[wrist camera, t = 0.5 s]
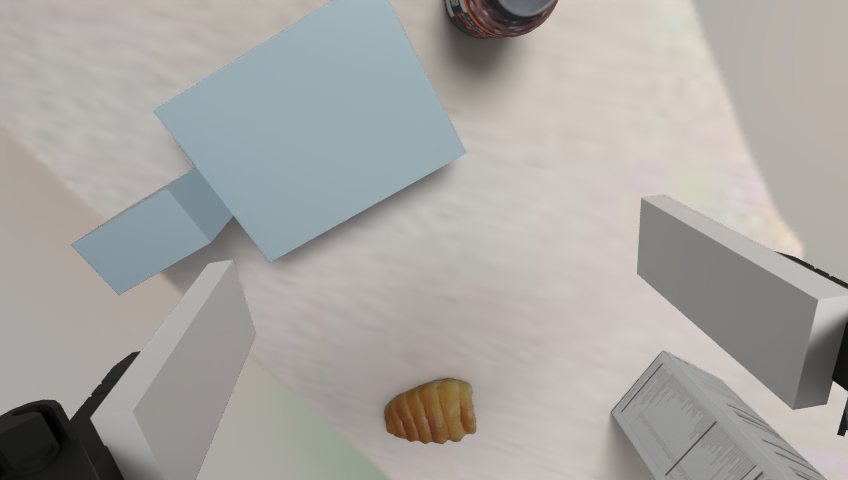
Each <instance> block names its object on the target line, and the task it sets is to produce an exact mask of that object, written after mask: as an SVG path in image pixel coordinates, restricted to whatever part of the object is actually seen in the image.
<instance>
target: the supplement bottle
mask: <svg viewBox="0 0 848 480" xmlns="http://www.w3.org/2000/svg"><path fill="white" fill-rule="evenodd" d="M557 2H558V0H445V4H446V8H447V11H448V14H449V16H450V18H451V19H452V21H453V22H454V24H455V25H456V26H457V27H458V28H459V29H460V30H462V31H463V32H465V33H466V34H468V35H470V36H473V37H477V38H497V37H500V38H501V37H516V36H520V35H524V34H527V33H529V32H531V31H532V30H534V29H535V28H537V27H539V26H540V25H541V24H542V23H543V22H544V21H545V20H546V19H547V18H548V17H549V15H550V14H551V13H552V11H553V10H554V8H555V6H556V4H557Z"/></svg>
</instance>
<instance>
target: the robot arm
mask: <svg viewBox="0 0 848 480" xmlns="http://www.w3.org/2000/svg"><path fill="white" fill-rule="evenodd" d="M637 274H638V275H639V276H640V277H641V278H643V279H644V280H645V281H646V282H647V283H648V284H649V285H651V286H652V287H653V288H654V289H655V290H656V291H657V292H659V293H660V294H661V295H662V296H663V297H664V298H665V299H667V300H668V301H669V302H670V303H671V304H672V305H673V306H675V307H676V308H677V309H678V310H679V311H680V312H681V313H683V314H684V315H685V316H686V317H687V318H688V319H689V320H691V321H692V322H693V323H694V324H695V325H696V326H697V327H699V328H700V329H701V330H702V331H703V332H704V333H705V334H707V335H708V336H709V337H710V338H711V339H712V340H713V341H715V342H716V343H717V344H718V345H719V346H720V347H722V348H723V349H724V350H725V351H726V352H727V353H728V354H730V355H731V356H732V357H733V358H734V359H735V360H736V361H738V362H739V363H740V364H741V365H742V366H743V367H744V368H746V369H747V370H748V371H749V372H750V373H751V374H752V375H754V376H755V377H756V378H757V379H758V380H759V381H760V382H762V383H763V384H764V385H765V386H766V387H767V388H768V389H770V390H771V391H772V392H773V393H774V394H775V395H776V396H778V397H779V398H780V399H781V400H782V401H783V402H784V403H786V404H787V405H788V406H789V407H790V408H791V409H792V410H795V409H801V408H807V407H813V406H819V405H824V404H827V401H828V397H829V393H830V390H831V386H832V382H833V381H834V382H836V383H837V384H839V385H840V386H841V387H843V388H844V389H845V390H847V391H848V284H847V283H845V282H843V281H841V280H839V279H837V278H835V277H833V276H831V277H830V276H829V274H828V273H826V272H824V271H822V270H820V269H814V267H813V266H812V265H810V264H808V263H806V262H804V261H802V260H800V259H798V258H796V257H793V256H789V255H786V254H783V253H779V252H776V251H773V250H771V249H769V248H767V247H765V246H763V245H761V244H759V243H757V242H755V241H753V240H751V239H749V238H748V237H746V236H744V235H742V234H740V233H738V232H736V231H734V230H732V229H730V228H728V227H726V226H724V225H722V224H720V223H719V222H717V221H715V220H713V219H711V218H709V217H707V216H705V215H703V214H701V213H699V212H697V211H695V210H693V209H691V208H690V207H688V206H686V205H684V204H682V203H680V202H678V201H676V200H674V199H672V198H670V197H668V196H666V195H657V196H651V197H644V198H641V212H640V229H639V246H638V263H637ZM255 335H256V331H255V328H254V325H253V322H252V318H251V315H250V312H249V309H248V306H247V302H246V299H245V296H244V293H243V290H242V286H241V283H240V280H239V277H238V274H237V270H236V267H235V264H234V261H233V260H227V261H220V262H214V263H208V265H207V266H206V267H205V268H204V270H203V271H202V272H201V274H200V275H199V276H198V278H197V279H196V280H195V282H194V283H193V284H192V285H191V287H190V288H189V289H188V291H187V292H186V293H185V295H184V296H183V297H182V299H181V300H180V301H179V303H178V304H177V305H176V306H175V308H174V309H173V311H172V312H171V313H170V314H169V316H168V317H167V318H166V320H165V321H164V322H163V323H162V325H161V326H160V327H159V329H158V330H157V331H156V333H155V334H154V335H153V337H152V338H151V339H150V340H149V342H148V343H147V344H146V346H145V347H144V348H143V350H142V351H139V352H133V353H131V354H130V355H128V356H127V357H126V358H124V359H123V360H122V361H120V362H119V363H118V364H117V365H115V366H114V367H113V368H112V369H111V370H110V372H109V373H108V374H107V376H106V377H105V378H104V379H103V381H102V384H100V385H98V387H97V388H96V389H95V390H94V391H93V393H92V394H91V395H92V396H91V397H89V398H88V399H87V400H86V401H85V402H84V404H83V405H82V406H81V407H80V409H79V410H78V411H77V412H76V414H75V415H74V416H73V417H72V418H71V420H70V421H69V419H68V417H67V415H66V414H65V412H64V410H63V408H62V406H61V405H60V404H59V403H58V402H57V401H55V400H40V401H35V402H31V403H27V404H25V405H23V406H20V407H17V408H15V409H12V410H10V411H8V412H7V413H5V414H3V415H1V416H0V480H196V478H197V476H198V473H199V471H200V468H201V466H202V464H203V461H204V459H205V456H206V454H207V451H208V449H209V446H210V444H211V442H212V439H213V437H214V434H215V432H216V430H217V427H218V425H219V422H220V420H221V418H222V415H223V413H224V410H225V408H226V405H227V403H228V401H229V398H230V396H231V393H232V391H233V388H234V386H235V384H236V381H237V379H238V376H239V374H240V371H241V369H242V367H243V364H244V362H245V359H246V357H247V355H248V352H249V350H250V347H251V345H252V342H253V340H254V338H255ZM846 430H848V399H847V402H846V406H845V409H844V413H843V416H842V419H841V423H840V426H839V430H838V433H837V435H840V436H844V435H845V433H846Z"/></svg>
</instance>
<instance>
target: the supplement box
mask: <svg viewBox="0 0 848 480" xmlns="http://www.w3.org/2000/svg"><path fill="white" fill-rule="evenodd" d="M612 415H613V416H614V418H615V419H616V421H617V422H618V424H619V425H620V427H621V428H622V430H623V431H624V433H625V434H626V436H627V437H628V439H629V440H630V442H631V443H632V445H633V446H634V448H635V449H636V451H637V452H638V454H639V455H640V457H641V459H642V460H643V462H644V463H645V465H646V466H647V468H648V469H649V471H650V472H651V474H652V475H653V477H654V478H655V480H827V479H826V478H825V477H824V476H823V475H821V474H820V473H819V472H818V471H817V470H816V469H815V468H814V467H813V466H812V465H811V464H810V463H809V462H808V461H807V460H805V459H804V458H803V457H802V456H801V455H800V454H799V453H798V452H797V451H796V450H795V449H794V448H793V447H792V446H791V445H790V444H788V443H787V442H786V441H785V440H784V439H783V438H782V437H781V436H780V435H779V434H778V433H777V432H776V431H775V430H774V429H773V428H772V427H771V426H769V425H768V424H767V423H766V422H765V421H764V420H763V419H762V418H761V417H760V416H759V415H758V414H757V413H756V412H755V411H754V410H753V409H751V408H750V407H749V406H748V405H747V404H746V403H745V402H744V401H743V400H742V399H741V398H740V397H739V396H738V395H737V394H736V393H735V392H733V391H732V390H731V389H730V388H729V387H728V386H727V385H726V384H725V383H724V382H723V381H722V380H721V379H719V378H717V377H715V376H713V375H711V374H709V373H707V372H705V371H703V370H701V369H700V368H698V367H696V366H694V365H692V364H690V363H688V362H686V361H684V360H682V359H680V358H678V357H676V356H674V355H672V354H670V353H668V352H666V351H662V352H661V354H660V355H659V356H658V357H657V359H656V360H655V361H654V362H653V363H652V365H651V366H650V367H649V368H648V369H647V370H646V372H645V373H644V374H643V375H642V376H641V378H640V379H639V380H638V381H637V382H636V384H635V385H634V386H633V387H632V388H631V389H630V391H629V392H628V393H627V394H626V395H625V397H624V398H623V399H622V400H621V401H620V403H619V404H618V405H617V406H616V407H615V409H614V410H613V411H612Z"/></svg>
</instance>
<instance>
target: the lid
mask: <svg viewBox="0 0 848 480" xmlns="http://www.w3.org/2000/svg"><path fill="white" fill-rule="evenodd" d="M153 112H154V113H155V114H156V115H157V117H158V118H159V119H160V121H161V122H162V123H163V125H164V126H165V127H166V128H167V130H168V131H169V132H170V134H171V135H172V136H173V138H174V139H175V140H176V141H177V143H178V144H179V145H180V147H181V148H182V149H183V151H184V152H185V153H186V154H187V156H188V157H189V158H190V160H191V161H192V162H193V164H194V165H195V166H196V168H195V169H193V170H191V171H190V172H188V173H186V174H184V175H183V176H181V177H179V178H178V179H176V180H174V181H173V182H171V183H169V184H168V185H166V186H164V187H163V188H161V189H159V190H157V191H156V192H154V193H152V194H151V195H149V196H147V197H146V198H144V199H142V200H141V201H139V202H137V203H136V204H134V205H132V206H131V207H129V208H127V209H125V210H124V211H122V212H120V213H119V214H117V215H116V216H114V217H113V218H111V219H110V220H108V221H107V222H105V223H104V224H102V225H101V226H99V227H98V228H96V229H94V230H93V231H91V232H90V233H88V234H87V235H85V236H84V237H82V238H81V239H79V240H78V241H76V242H75V243H73V244H72V245H71V246H72V247H73V248H74V249H75V250H76V251H77V252H78V253H79V254H80V255H81V256H82V257H83V258H84V259H85V260H86V261H87V262H88V263H89V264H90V265H91V267H92V268H93V269H94V270H95V271H96V272H97V273H98V274H99V275H100V276H101V277H102V278H103V279H104V280H105V281H106V282H107V283H108V284H109V285H110V286H111V288H112V289H114V290H115V292H116V293H117V294H118V295H120V294H122V293H124V292H125V291H127V290H129V289H131V288H132V287H134V286H136V285H138V284H139V283H141V282H143V281H145V280H147V279H148V278H150V277H152V276H154V275H155V274H157V273H159V272H161V271H162V270H164V269H166V268H168V267H169V266H171V265H173V264H175V263H176V262H178V261H180V260H182V259H183V258H185V257H187V256H189V255H190V254H192V253H194V252H196V251H197V250H199V249H201V248H203V247H204V246H206V245H208V244H210V243H211V242H212V241H213V240H214V238H215V237H216V236H217V235H218V234H219V233H220V231H221V230H222V229H223V228H224V227H225V225H226V224H227V223H228V222H229V221H230V219H231V218H232V217H233V216H234V217H235V218H236V220H237V221H238V222H239V223H240V225H241V226H242V227H243V229H244V230H245V231H246V233H247V234H248V235H249V236H250V238H251V239H252V240H253V242H254V243H255V244H256V246H257V247H258V248H259V249H260V251H261V252H262V253H263V255H264V256H265V257H266V259H267V260H268V261H269V262H272V261H274V260H276V259H277V258H279V257H281V256H283V255H285V254H286V253H288V252H290V251H292V250H294V249H295V248H297V247H299V246H301V245H303V244H304V243H306V242H308V241H310V240H312V239H313V238H315V237H317V236H319V235H320V234H322V233H324V232H326V231H328V230H329V229H331V228H333V227H335V226H337V225H338V224H340V223H342V222H344V221H346V220H347V219H349V218H351V217H353V216H355V215H356V214H358V213H360V212H362V211H364V210H365V209H367V208H369V207H371V206H373V205H374V204H376V203H378V202H380V201H382V200H383V199H385V198H387V197H389V196H391V195H392V194H394V193H396V192H398V191H400V190H401V189H403V188H405V187H407V186H409V185H410V184H412V183H414V182H416V181H417V180H419V179H421V178H423V177H425V176H426V175H428V174H430V173H432V172H434V171H435V170H437V169H439V168H441V167H443V166H444V165H446V164H448V163H450V162H452V161H453V160H455V159H457V158H459V157H461V156H462V155H464V154H466V153H467V152H466V150H465V149H464V147H463V145H462V143H461V141H460V139H459V137H458V135H457V133H456V131H455V129H454V127H453V125H452V123H451V121H450V119H449V117H448V115H447V113H446V111H445V109H444V107H443V105H442V103H441V101H440V100H439V98H438V96H437V94H436V92H435V90H434V88H433V86H432V84H431V82H430V80H429V78H428V76H427V74H426V72H425V70H424V68H423V66H422V64H421V62H420V60H419V58H418V56H417V54H416V53H415V51H414V49H413V47H412V45H411V43H410V41H409V39H408V37H407V35H406V33H405V31H404V29H403V27H402V25H401V23H400V21H399V19H398V17H397V15H396V13H395V11H394V9H393V7H392V6H391V4H390V2H389V0H332V1H330V2H329V3H327V4H326V5H324V6H322V7H321V8H319V9H317V10H316V11H314V12H313V13H311V14H309V15H308V16H306V17H304V18H303V19H301V20H300V21H298V22H296V23H295V24H293V25H291V26H290V27H288V28H287V29H285V30H283V31H282V32H280V33H278V34H277V35H275V36H274V37H272V38H270V39H269V40H267V41H265V42H264V43H262V44H261V45H259V46H257V47H256V48H254V49H252V50H251V51H249V52H248V53H246V54H244V55H243V56H241V57H240V58H238V59H236V60H235V61H233V62H231V63H230V64H228V65H227V66H225V67H223V68H222V69H220V70H218V71H217V72H215V73H214V74H212V75H210V76H209V77H207V78H205V79H204V80H202V81H201V82H199V83H197V84H196V85H194V86H192V87H191V88H189V89H188V90H186V91H184V92H183V93H181V94H179V95H178V96H176V97H175V98H173V99H171V100H170V101H168V102H166V103H165V104H163V105H162V106H160V107H158V108H157V109H155V110H153Z"/></svg>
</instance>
